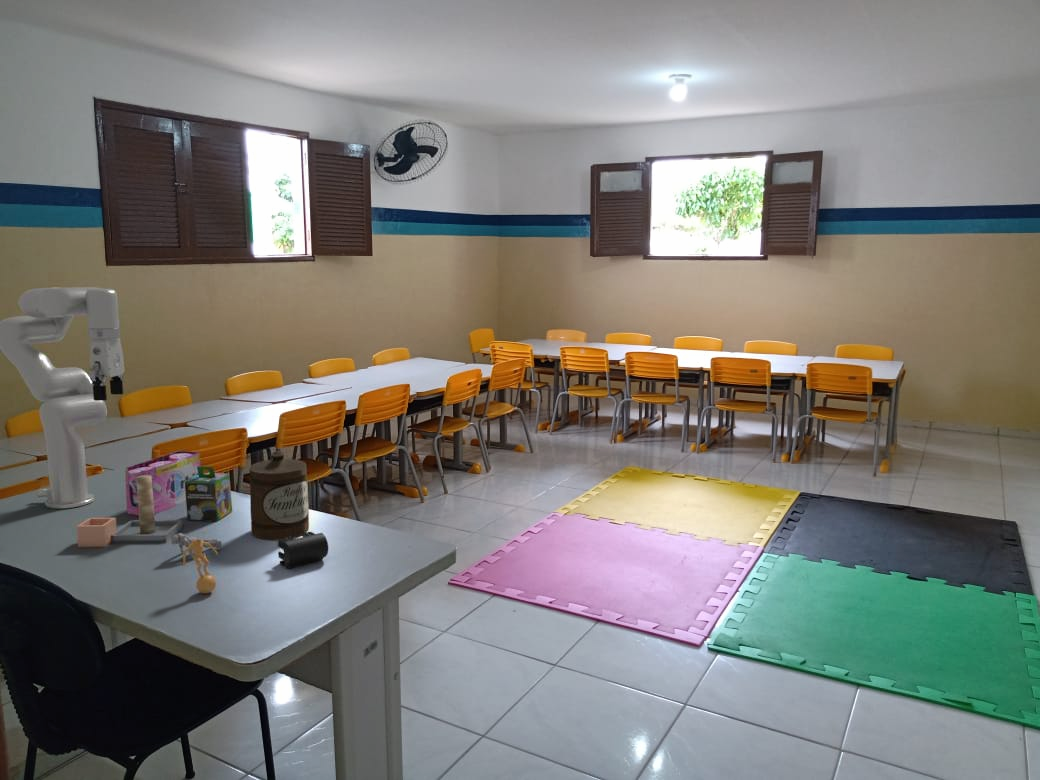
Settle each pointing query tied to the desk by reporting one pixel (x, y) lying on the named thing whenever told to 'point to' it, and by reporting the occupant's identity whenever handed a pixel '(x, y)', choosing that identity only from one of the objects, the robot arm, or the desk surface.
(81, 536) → the pink open box
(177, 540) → the soldier figurine
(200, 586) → the figurine
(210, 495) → the chalk box
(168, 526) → the tray
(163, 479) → the gum box
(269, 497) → the wooden container
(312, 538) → the end cap
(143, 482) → the dowel
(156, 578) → the desk surface
